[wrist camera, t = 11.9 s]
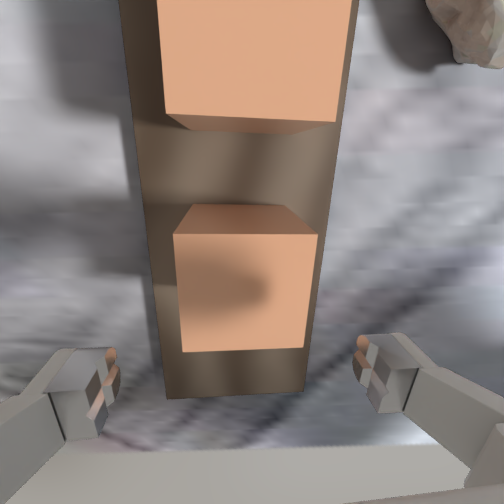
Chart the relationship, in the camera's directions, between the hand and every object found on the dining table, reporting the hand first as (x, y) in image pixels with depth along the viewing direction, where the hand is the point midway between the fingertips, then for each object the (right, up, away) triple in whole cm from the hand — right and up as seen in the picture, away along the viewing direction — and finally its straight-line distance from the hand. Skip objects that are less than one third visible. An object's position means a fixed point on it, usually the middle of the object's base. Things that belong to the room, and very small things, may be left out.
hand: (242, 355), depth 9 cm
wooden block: (-1, +4, +10) cm, 11 cm away
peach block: (0, +14, +6) cm, 15 cm away
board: (-1, +5, +11) cm, 12 cm away
